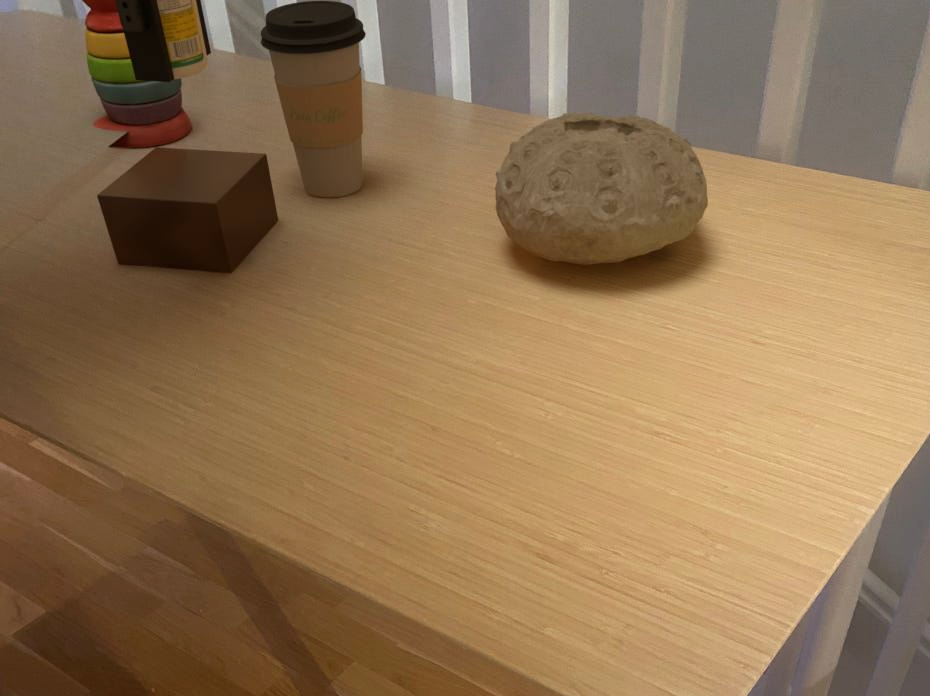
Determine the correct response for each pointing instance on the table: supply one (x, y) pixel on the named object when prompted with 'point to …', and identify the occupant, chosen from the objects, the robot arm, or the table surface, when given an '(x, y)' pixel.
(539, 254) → the decorative shell
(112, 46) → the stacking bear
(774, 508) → the table surface
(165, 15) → the supplement bottle
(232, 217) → the block
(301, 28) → the coffee cup
